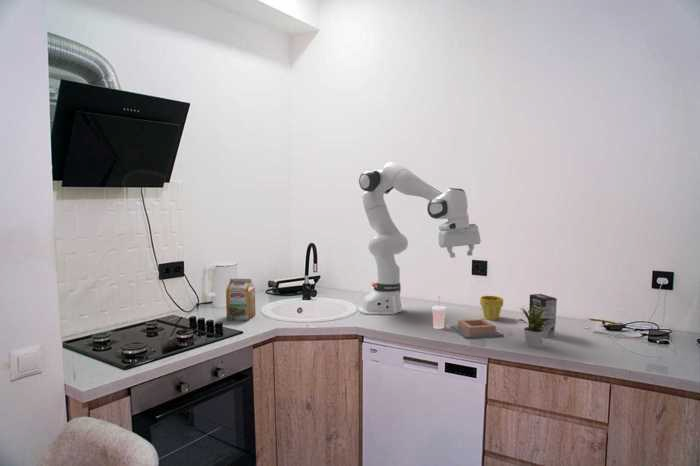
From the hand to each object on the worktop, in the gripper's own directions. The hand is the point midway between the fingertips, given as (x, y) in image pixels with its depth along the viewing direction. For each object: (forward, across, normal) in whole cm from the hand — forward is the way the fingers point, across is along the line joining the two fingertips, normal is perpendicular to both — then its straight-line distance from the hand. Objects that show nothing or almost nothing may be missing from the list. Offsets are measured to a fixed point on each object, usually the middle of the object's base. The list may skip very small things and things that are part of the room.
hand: (461, 256), depth 199 cm
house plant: (+36, -8, +27) cm, 45 cm away
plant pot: (+32, -22, -10) cm, 40 cm away
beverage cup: (+31, +9, -8) cm, 33 cm away
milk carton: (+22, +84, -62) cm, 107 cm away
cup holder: (+32, -1, +5) cm, 33 cm away
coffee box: (+35, -24, +18) cm, 46 cm away
